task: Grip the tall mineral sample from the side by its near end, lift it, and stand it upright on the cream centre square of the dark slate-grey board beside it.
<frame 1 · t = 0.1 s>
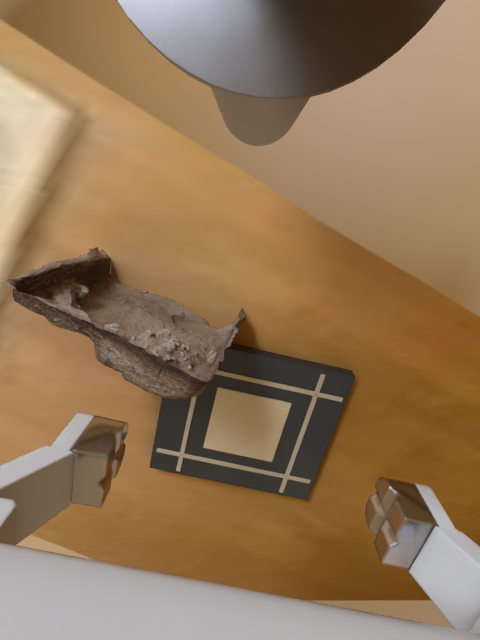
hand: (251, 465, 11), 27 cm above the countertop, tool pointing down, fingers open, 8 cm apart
mineral sample: (168, 291, 37), on the countertop
board: (246, 417, 42), on the countertop
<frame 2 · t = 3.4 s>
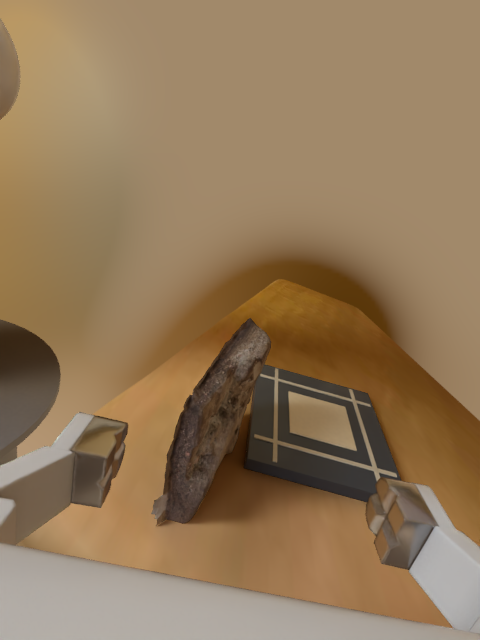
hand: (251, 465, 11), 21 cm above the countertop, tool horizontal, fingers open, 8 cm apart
mineral sample: (203, 470, 37), on the countertop
board: (315, 427, 47), on the countertop
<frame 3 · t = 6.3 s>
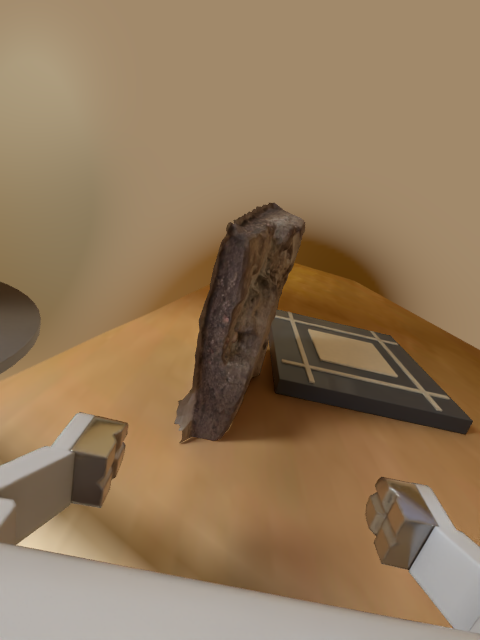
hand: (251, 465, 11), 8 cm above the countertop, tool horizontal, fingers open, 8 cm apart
mineral sample: (227, 394, 30), on the countertop
board: (344, 363, 41), on the countertop
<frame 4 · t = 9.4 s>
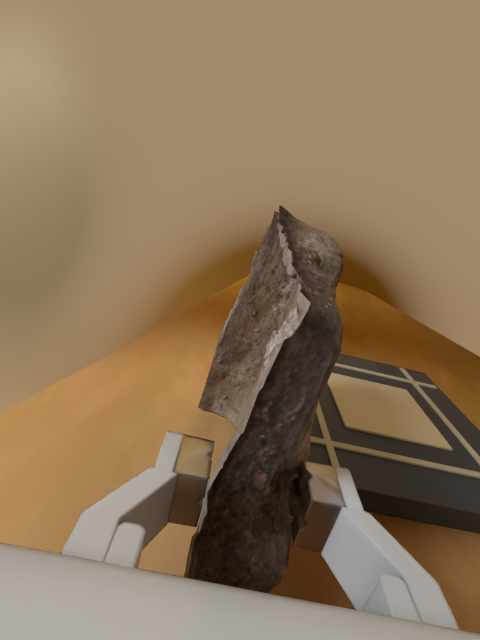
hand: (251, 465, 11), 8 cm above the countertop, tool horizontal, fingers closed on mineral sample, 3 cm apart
mineral sample: (208, 501, 19), on the countertop, touching gripper
board: (373, 421, 31), on the countertop
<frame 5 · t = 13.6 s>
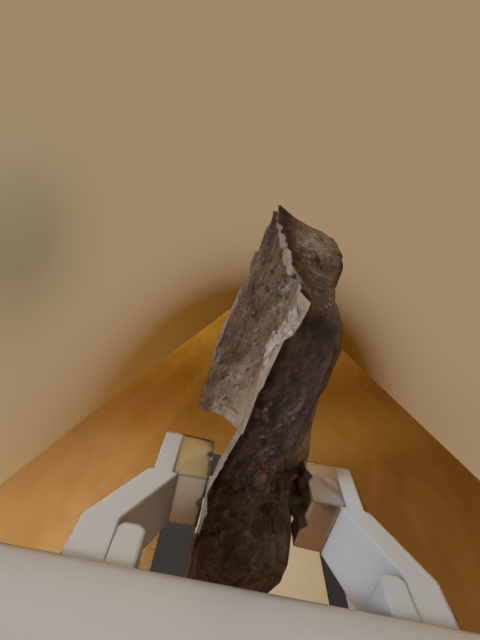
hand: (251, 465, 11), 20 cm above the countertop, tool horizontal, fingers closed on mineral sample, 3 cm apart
mineral sample: (207, 501, 19), point 12 cm above the countertop, touching gripper
board: (265, 568, 29), on the countertop
when the fingers open (10 cm above the countertop, at t = 18.0 s): mineral sample stays where it is, resting on board.
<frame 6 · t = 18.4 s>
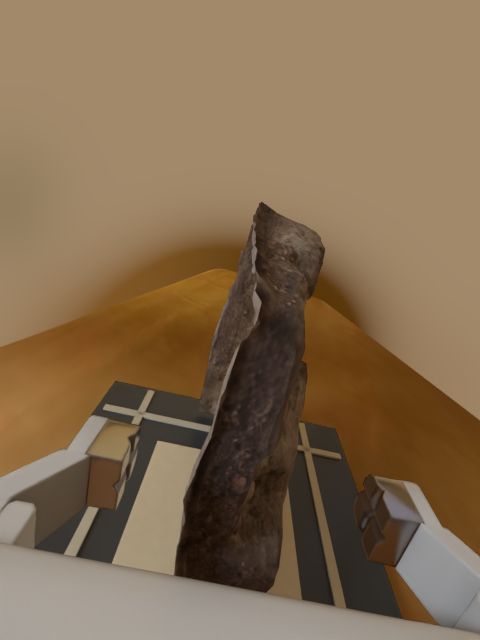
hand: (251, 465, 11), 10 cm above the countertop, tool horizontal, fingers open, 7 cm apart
mineral sample: (208, 504, 19), point 2 cm above the countertop, touching board
board: (209, 532, 19), on the countertop
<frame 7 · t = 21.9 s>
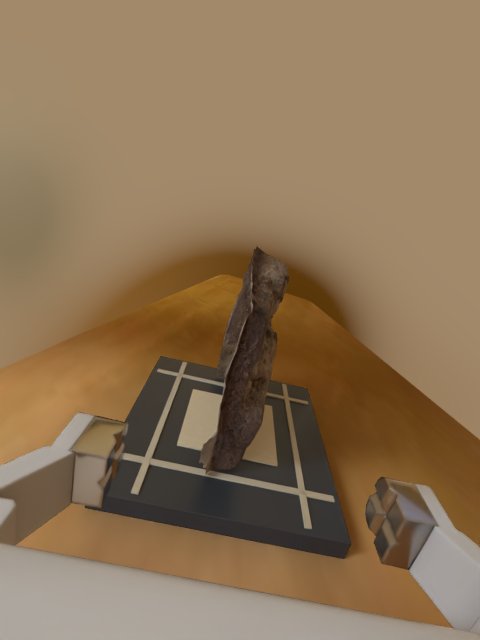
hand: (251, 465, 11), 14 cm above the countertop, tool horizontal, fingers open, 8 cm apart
mineral sample: (226, 420, 33), point 2 cm above the countertop, touching board
board: (226, 437, 33), on the countertop
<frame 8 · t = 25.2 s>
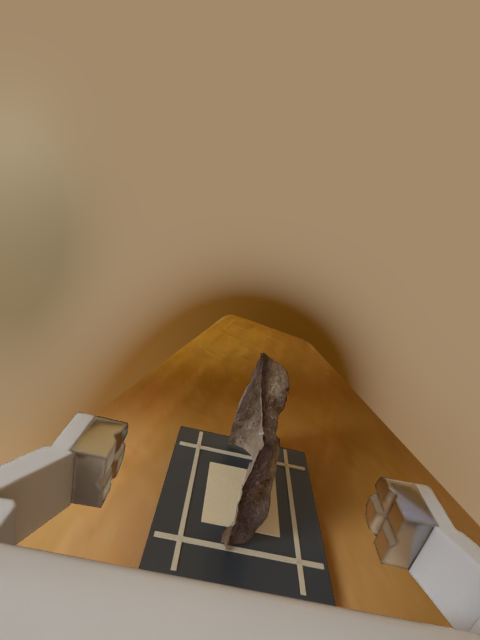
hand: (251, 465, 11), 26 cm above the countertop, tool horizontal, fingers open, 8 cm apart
mineral sample: (238, 493, 41), point 2 cm above the countertop, touching board
board: (238, 506, 41), on the countertop
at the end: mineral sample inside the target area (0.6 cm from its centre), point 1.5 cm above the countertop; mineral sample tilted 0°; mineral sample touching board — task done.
